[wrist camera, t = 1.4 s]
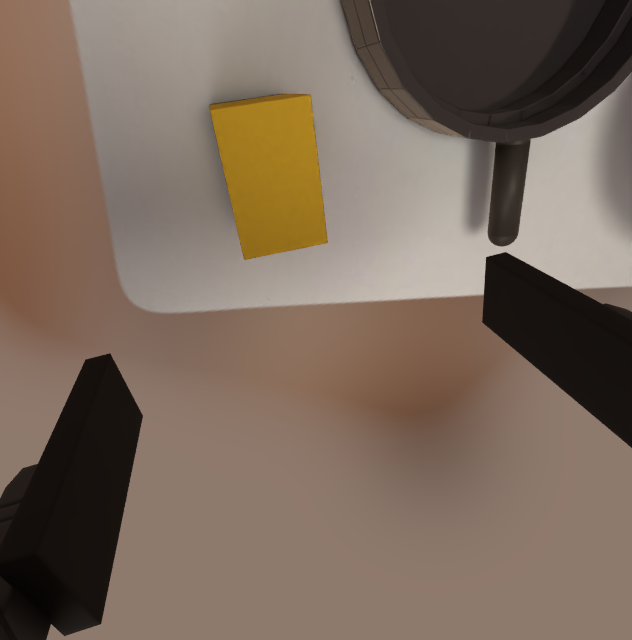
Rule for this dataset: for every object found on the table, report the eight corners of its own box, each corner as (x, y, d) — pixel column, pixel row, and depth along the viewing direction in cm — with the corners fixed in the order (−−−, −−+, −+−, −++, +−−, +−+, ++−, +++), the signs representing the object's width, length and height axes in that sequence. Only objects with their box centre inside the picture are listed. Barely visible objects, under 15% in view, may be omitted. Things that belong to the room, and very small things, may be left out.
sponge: (209, 104, 24) (209, 109, 18) (282, 93, 25) (310, 94, 18) (235, 219, 28) (244, 260, 21) (299, 207, 29) (327, 243, 22)
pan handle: (491, 126, 26) (510, 128, 25) (518, 121, 27) (540, 123, 25) (480, 243, 30) (497, 252, 29) (505, 238, 31) (522, 247, 29)
